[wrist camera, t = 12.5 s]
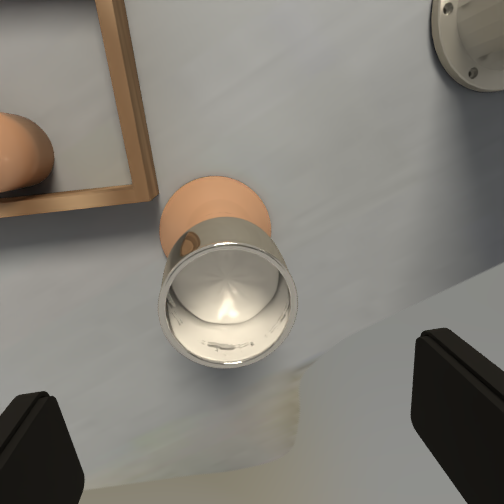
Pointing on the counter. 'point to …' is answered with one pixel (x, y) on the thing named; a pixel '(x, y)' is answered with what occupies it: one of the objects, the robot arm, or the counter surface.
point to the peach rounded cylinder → (23, 153)
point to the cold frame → (131, 125)
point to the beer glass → (226, 289)
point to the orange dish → (201, 192)
